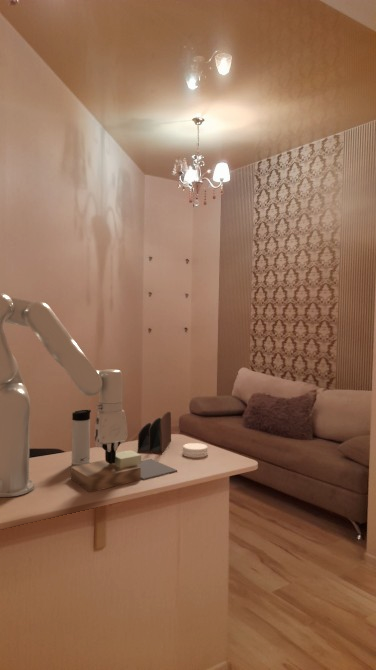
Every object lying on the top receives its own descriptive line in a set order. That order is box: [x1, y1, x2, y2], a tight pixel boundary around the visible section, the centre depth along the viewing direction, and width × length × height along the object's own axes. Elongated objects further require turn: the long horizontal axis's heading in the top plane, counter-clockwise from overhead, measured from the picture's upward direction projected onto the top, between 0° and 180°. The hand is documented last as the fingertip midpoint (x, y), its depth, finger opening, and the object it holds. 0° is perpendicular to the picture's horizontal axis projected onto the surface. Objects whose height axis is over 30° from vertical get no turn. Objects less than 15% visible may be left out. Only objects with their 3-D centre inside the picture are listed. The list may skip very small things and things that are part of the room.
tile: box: [112, 449, 142, 468], centre depth 149 cm, size 8×7×3 cm
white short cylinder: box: [182, 442, 209, 459], centre depth 175 cm, size 10×10×4 cm
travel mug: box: [71, 409, 92, 467], centre depth 159 cm, size 6×7×20 cm
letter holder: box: [137, 411, 172, 455], centre depth 184 cm, size 10×20×14 cm, turn 171°
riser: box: [70, 459, 142, 493], centre depth 145 cm, size 18×14×4 cm
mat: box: [137, 458, 178, 481], centre depth 156 cm, size 14×16×1 cm
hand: (110, 462), depth 146 cm, fingers closed
